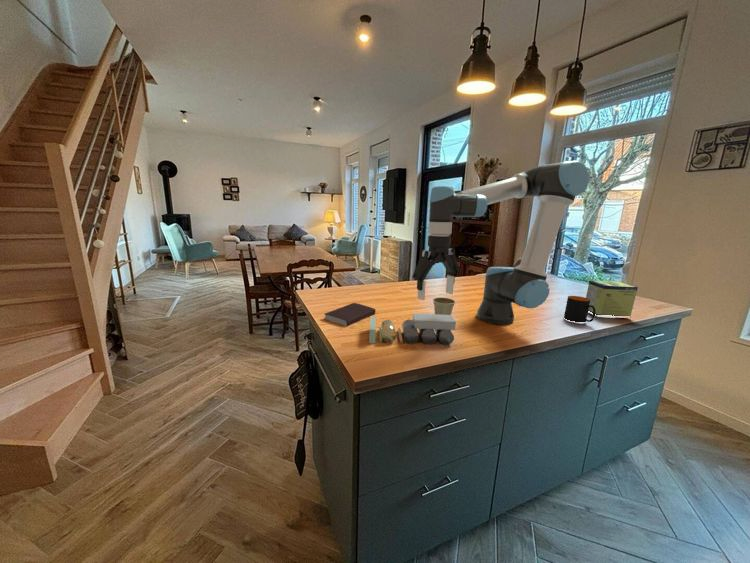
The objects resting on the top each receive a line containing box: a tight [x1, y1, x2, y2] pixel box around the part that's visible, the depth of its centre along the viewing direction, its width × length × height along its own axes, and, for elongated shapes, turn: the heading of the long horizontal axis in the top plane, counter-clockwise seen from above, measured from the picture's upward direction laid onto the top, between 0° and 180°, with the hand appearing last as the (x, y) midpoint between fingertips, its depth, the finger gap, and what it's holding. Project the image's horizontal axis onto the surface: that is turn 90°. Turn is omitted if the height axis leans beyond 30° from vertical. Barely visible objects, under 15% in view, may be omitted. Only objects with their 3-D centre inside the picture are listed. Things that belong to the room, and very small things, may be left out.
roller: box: [380, 319, 397, 344], centre depth 108 cm, size 10×5×5 cm, turn 0°
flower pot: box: [432, 296, 456, 316], centre depth 127 cm, size 9×9×9 cm
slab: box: [411, 313, 457, 331], centre depth 107 cm, size 14×7×3 cm, turn 90°
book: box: [324, 302, 376, 327], centre depth 127 cm, size 12×19×3 cm, turn 145°
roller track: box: [378, 319, 455, 346], centre depth 108 cm, size 25×11×5 cm, turn 90°
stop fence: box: [368, 316, 377, 344], centre depth 108 cm, size 2×12×5 cm, turn 0°
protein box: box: [585, 280, 639, 317], centre depth 143 cm, size 10×16×16 cm
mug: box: [563, 295, 596, 323], centre depth 131 cm, size 8×12×10 cm
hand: (435, 296), depth 105 cm, fingers open, 13 cm apart
